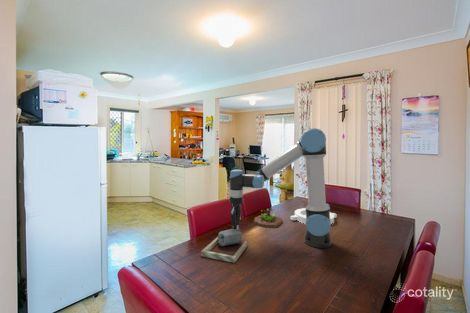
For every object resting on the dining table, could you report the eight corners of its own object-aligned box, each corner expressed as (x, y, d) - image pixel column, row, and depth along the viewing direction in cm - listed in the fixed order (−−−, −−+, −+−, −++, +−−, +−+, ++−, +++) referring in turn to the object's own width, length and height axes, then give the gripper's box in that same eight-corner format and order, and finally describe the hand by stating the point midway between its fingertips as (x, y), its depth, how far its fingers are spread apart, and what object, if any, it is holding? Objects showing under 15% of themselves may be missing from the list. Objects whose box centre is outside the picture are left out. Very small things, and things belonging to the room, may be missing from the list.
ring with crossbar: (337, 218, 186) (337, 212, 185) (329, 229, 162) (329, 222, 162) (300, 211, 201) (301, 206, 200) (288, 221, 177) (289, 215, 177)
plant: (250, 225, 168) (250, 209, 167) (258, 217, 186) (258, 202, 185) (279, 229, 160) (279, 213, 160) (284, 220, 179) (284, 205, 178)
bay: (247, 246, 135) (247, 241, 134) (234, 262, 116) (234, 257, 116) (217, 241, 141) (217, 236, 141) (201, 256, 123) (201, 251, 122)
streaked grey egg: (219, 244, 128) (221, 225, 133) (214, 245, 137) (217, 227, 141) (243, 248, 132) (245, 229, 136) (237, 249, 140) (239, 231, 144)
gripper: (234, 193, 149) (233, 231, 151) (225, 198, 137) (225, 239, 139) (245, 194, 146) (245, 233, 148) (238, 199, 134) (237, 241, 136)
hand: (235, 236), depth 143 cm, fingers closed
